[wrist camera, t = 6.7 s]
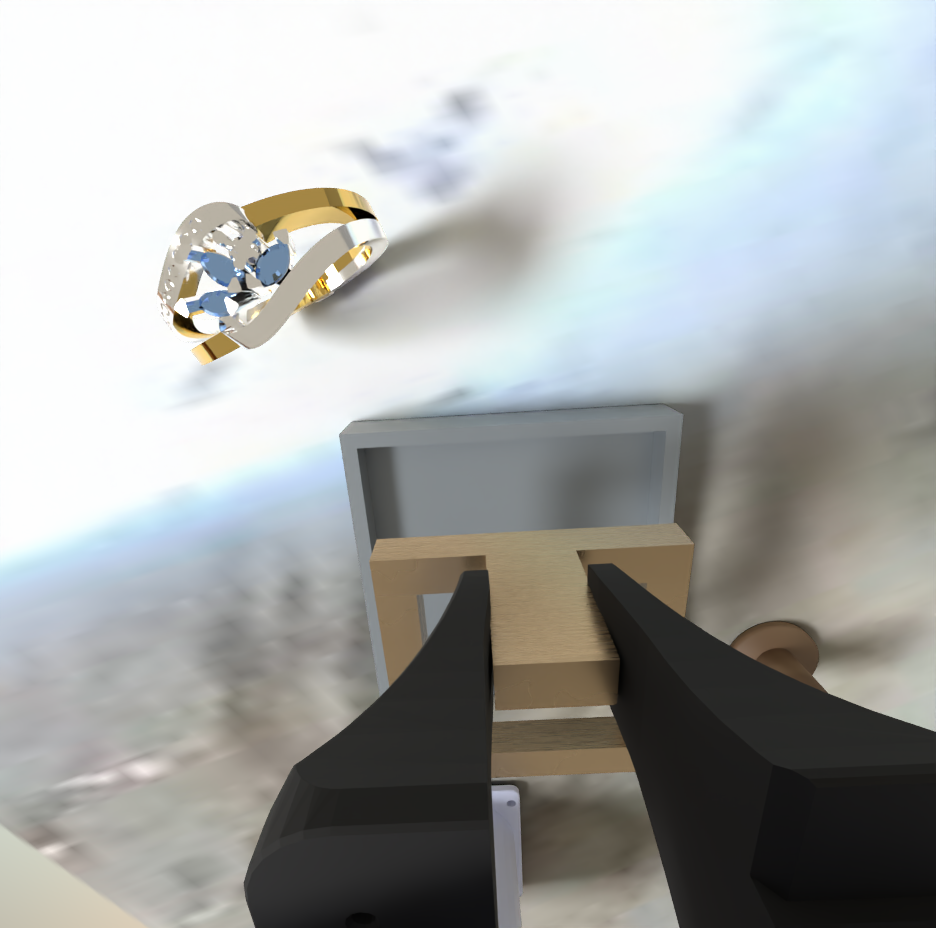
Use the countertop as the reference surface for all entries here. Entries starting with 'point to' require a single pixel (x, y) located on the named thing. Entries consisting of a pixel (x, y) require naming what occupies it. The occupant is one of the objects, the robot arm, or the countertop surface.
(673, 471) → the tray
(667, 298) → the countertop surface
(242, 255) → the ring
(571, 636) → the wooden frame with post
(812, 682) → the brown stamp
